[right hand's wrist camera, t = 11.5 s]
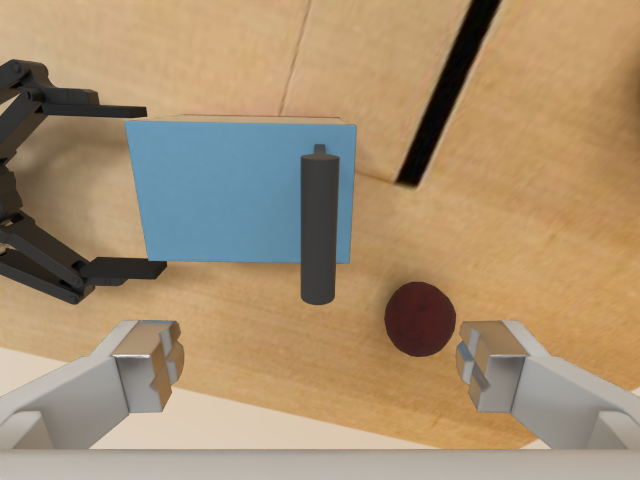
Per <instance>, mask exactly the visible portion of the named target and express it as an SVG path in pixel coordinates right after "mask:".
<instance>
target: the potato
mask: <svg viewBox="0 0 640 480" xmlns="http://www.w3.org/2000/svg"><path fill="white" fill-rule="evenodd" d="M384 320H385V325H386V330H387V334H388V336H389V338H390V339H391V341H392V342H393V344H394V345H395V346H396V347H397V348H398V349H399V350H400V351H402V352H404V353H406V354H408V355H410V356H415V357H424V356H429V355H432V354H435V353H437V352H439V351H440V350H441V349H442V348H443V347H444V346H445V345H446V344H447V342H448V341H449V339H450V338H451V336H452V334H453V332H454V329H455V323H456V313H455V310H454V307H453V305H452V303H451V302H450V300H449V298H448V297H447V296H446V295H444V294H443V293H442V292H441V291H440V290H439V289H438V288H436V287H435V286H432V285H430V284H427V283H424V282H411V283H408V284H406V285H403V286H402V287H401V288H400V289H398V290H397V291H396V292H395V293H394V294H393V296H392V298H391V299H390V301H389V302H388V304H387V307H386V311H385V318H384Z"/></svg>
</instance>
